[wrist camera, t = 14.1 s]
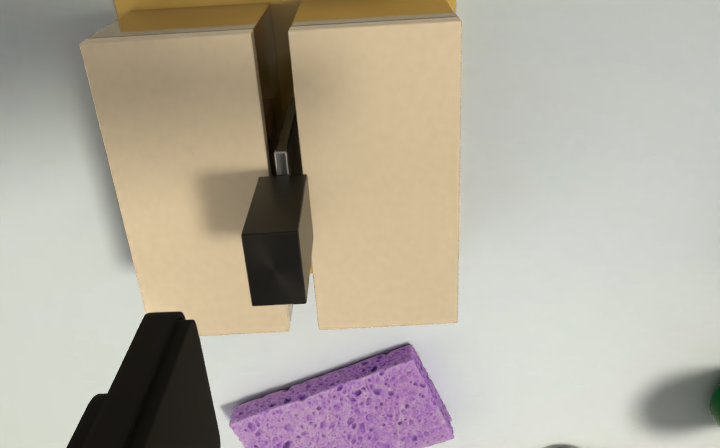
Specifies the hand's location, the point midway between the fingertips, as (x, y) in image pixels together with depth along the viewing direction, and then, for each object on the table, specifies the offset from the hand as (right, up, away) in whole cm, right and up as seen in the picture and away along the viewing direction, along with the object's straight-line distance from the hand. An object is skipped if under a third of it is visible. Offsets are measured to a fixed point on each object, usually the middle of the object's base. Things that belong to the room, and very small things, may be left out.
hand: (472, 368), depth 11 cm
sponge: (-3, -10, +33) cm, 34 cm away
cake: (-5, +7, +24) cm, 25 cm away
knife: (-5, +7, +24) cm, 25 cm away
